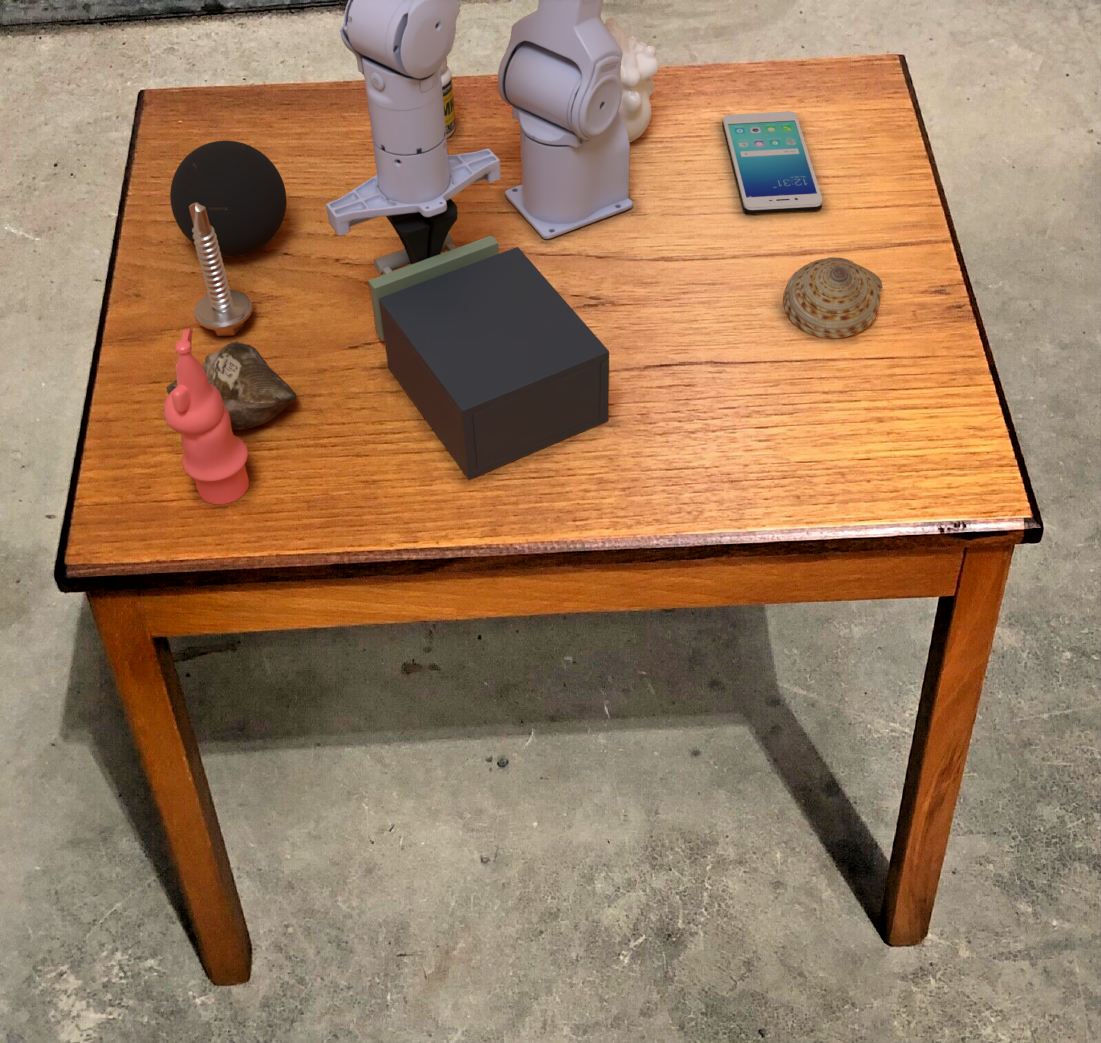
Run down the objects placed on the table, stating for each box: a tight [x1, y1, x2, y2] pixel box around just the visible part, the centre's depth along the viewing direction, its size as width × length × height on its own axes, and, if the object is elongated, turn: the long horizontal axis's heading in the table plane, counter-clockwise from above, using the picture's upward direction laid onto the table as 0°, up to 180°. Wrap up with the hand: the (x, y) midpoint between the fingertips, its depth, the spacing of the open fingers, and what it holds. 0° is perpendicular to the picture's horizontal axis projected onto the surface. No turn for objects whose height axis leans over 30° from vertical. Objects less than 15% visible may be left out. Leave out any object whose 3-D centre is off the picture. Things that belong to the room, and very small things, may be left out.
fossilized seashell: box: [166, 341, 298, 431], centre depth 115 cm, size 8×7×10 cm
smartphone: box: [721, 110, 823, 215], centre depth 136 cm, size 8×1×15 cm
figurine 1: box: [163, 328, 250, 505], centre depth 105 cm, size 5×5×15 cm
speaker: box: [169, 140, 287, 258], centre depth 126 cm, size 10×10×10 cm
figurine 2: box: [604, 17, 660, 143], centre depth 135 cm, size 7×7×12 cm
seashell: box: [782, 256, 883, 339], centre depth 122 cm, size 8×6×8 cm
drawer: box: [368, 232, 500, 342], centre depth 118 cm, size 18×11×6 cm, turn 29°
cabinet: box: [379, 246, 610, 481], centre depth 114 cm, size 15×13×8 cm
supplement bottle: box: [440, 56, 456, 139], centre depth 138 cm, size 5×5×8 cm
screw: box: [189, 202, 253, 337], centre depth 118 cm, size 13×5×5 cm
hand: (423, 272), depth 121 cm, fingers closed, pressing on drawer
